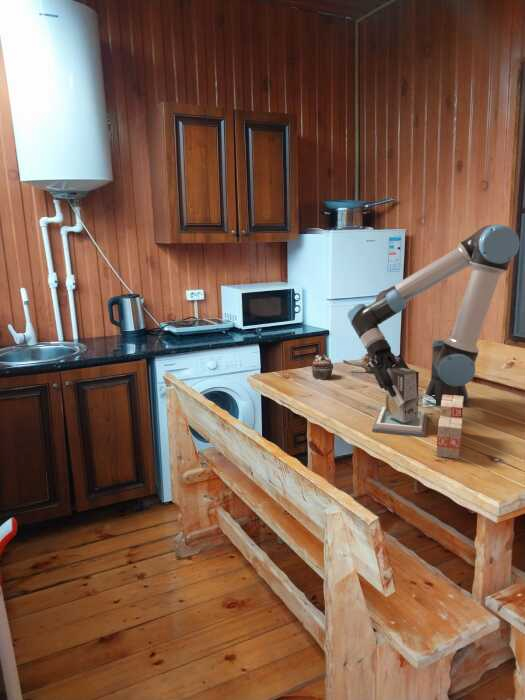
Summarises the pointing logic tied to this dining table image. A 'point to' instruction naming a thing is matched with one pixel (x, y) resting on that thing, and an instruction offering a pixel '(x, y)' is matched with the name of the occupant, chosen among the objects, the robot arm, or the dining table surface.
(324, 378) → the cupcake
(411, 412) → the coffee box
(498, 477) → the dining table surface
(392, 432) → the holder board
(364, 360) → the pine cone
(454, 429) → the stack of blocks
